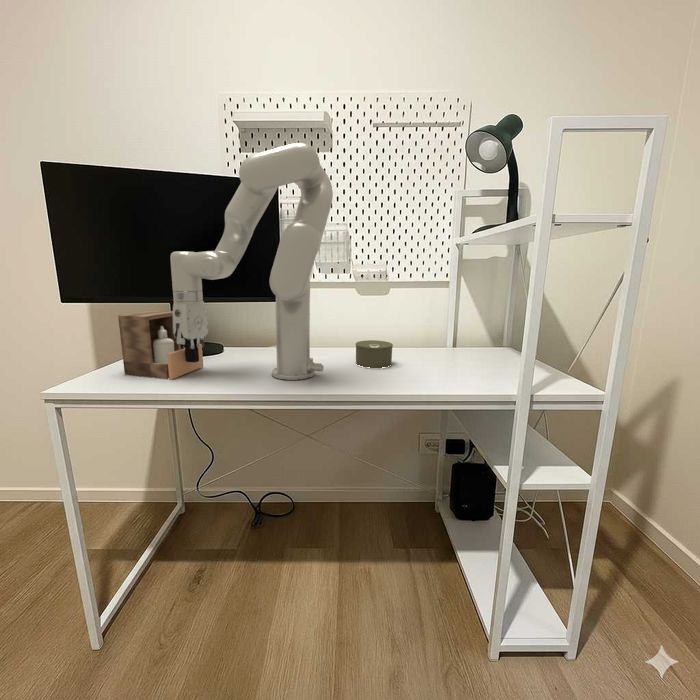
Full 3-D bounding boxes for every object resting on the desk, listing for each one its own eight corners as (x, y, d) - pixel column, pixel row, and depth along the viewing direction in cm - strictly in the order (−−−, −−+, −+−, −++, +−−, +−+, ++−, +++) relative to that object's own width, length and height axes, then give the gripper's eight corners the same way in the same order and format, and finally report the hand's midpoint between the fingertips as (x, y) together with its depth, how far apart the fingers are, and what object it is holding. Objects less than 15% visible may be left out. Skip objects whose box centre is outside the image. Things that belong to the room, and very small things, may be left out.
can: (390, 360, 133) (391, 340, 131) (393, 369, 121) (394, 348, 120) (355, 359, 133) (355, 340, 131) (354, 369, 121) (355, 347, 120)
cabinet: (196, 367, 120) (192, 312, 116) (167, 379, 108) (162, 317, 104) (157, 364, 123) (152, 310, 120) (124, 374, 111) (118, 315, 107)
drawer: (203, 366, 120) (201, 344, 118) (172, 379, 106) (170, 354, 105) (164, 363, 123) (162, 341, 122) (129, 374, 110) (127, 350, 108)
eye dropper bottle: (171, 368, 113) (167, 327, 110) (152, 368, 113) (148, 327, 110) (178, 364, 117) (174, 325, 114) (159, 364, 117) (156, 324, 114)
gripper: (182, 300, 100) (187, 369, 104) (215, 295, 114) (218, 356, 118) (157, 298, 102) (163, 366, 106) (193, 294, 116) (197, 355, 120)
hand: (192, 361), depth 112 cm, fingers closed
